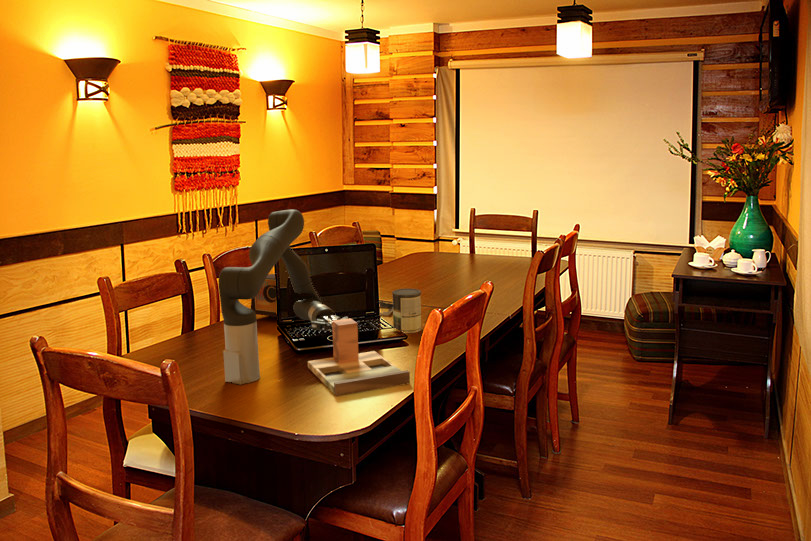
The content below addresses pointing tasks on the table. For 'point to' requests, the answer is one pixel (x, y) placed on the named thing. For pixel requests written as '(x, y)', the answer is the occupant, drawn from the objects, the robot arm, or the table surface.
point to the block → (345, 340)
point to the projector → (266, 298)
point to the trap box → (358, 374)
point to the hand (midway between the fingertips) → (338, 329)
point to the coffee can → (407, 310)
